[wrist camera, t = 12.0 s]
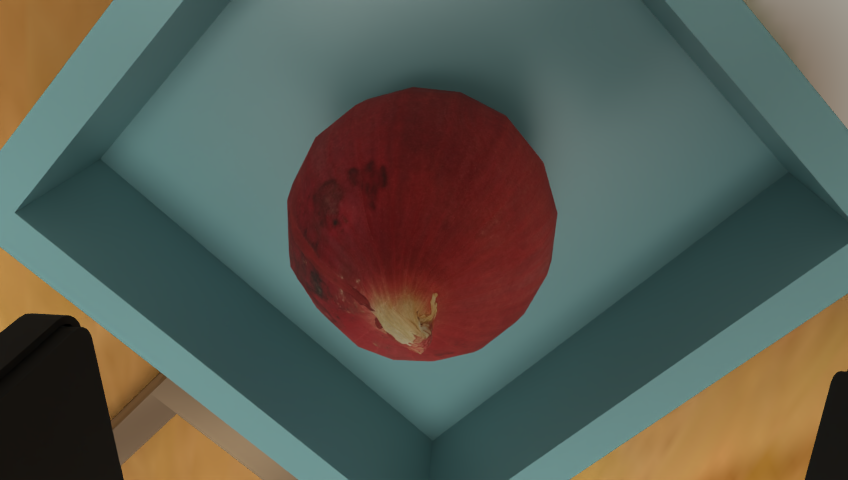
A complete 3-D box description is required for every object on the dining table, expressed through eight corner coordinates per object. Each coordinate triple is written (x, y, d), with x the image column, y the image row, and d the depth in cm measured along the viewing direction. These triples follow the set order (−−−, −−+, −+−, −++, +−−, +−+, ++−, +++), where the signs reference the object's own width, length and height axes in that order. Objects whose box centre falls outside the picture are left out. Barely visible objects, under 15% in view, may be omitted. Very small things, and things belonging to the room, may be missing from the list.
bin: (828, 161, 19) (933, 235, 15) (434, 454, 25) (423, 577, 20) (435, -311, 16) (415, -403, 11) (69, 147, 21) (-46, 211, 16)
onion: (333, 252, 21) (234, 443, 14) (329, 48, 18) (204, 154, 11) (537, 270, 20) (545, 479, 13) (562, 63, 18) (589, 183, 11)
